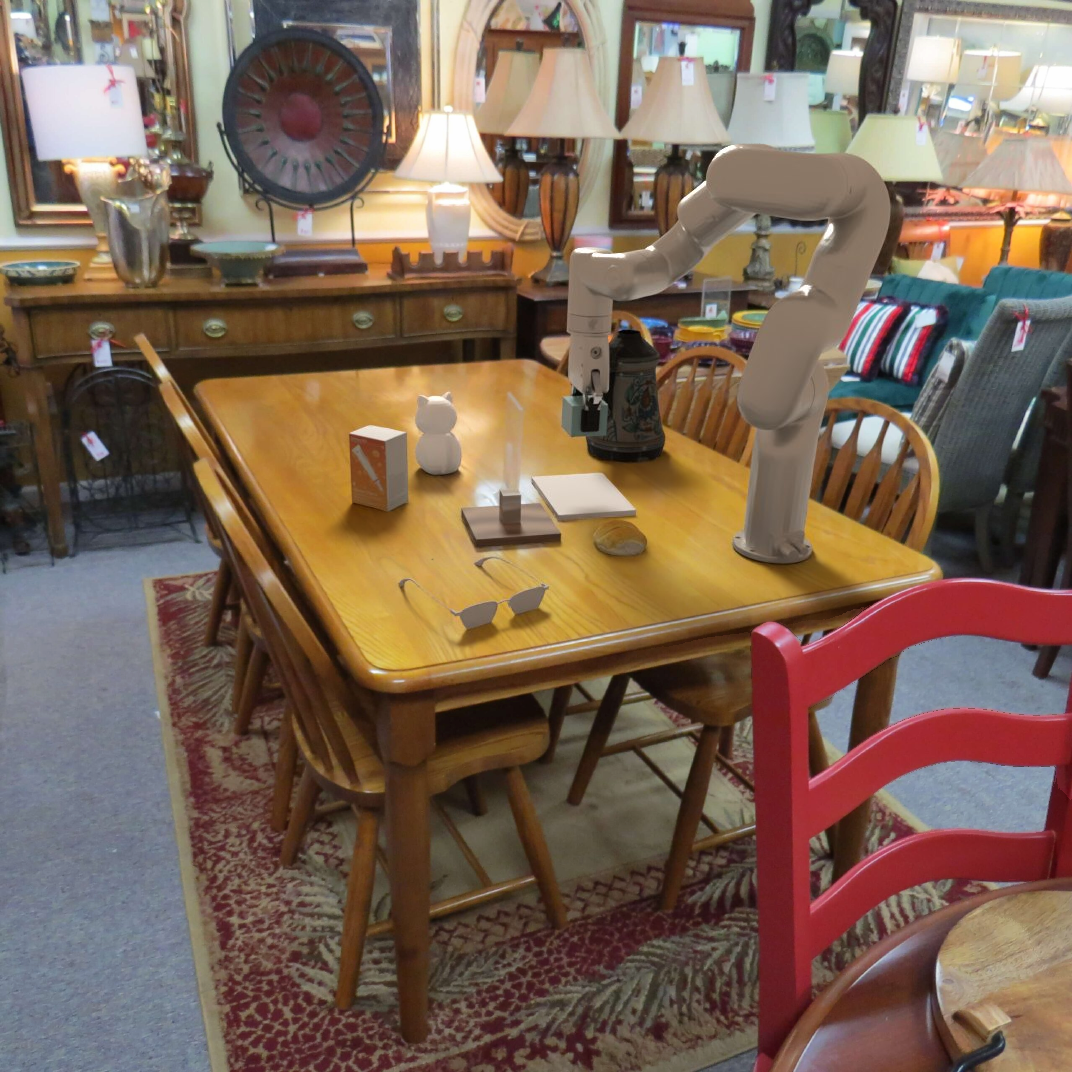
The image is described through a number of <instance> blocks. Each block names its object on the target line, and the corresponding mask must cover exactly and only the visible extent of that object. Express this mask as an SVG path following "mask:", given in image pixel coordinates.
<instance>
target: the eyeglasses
mask: <svg viewBox="0 0 1072 1072" xmlns="http://www.w3.org/2000/svg"><path fill="white" fill-rule="evenodd" d="M491 559H497V560H501V561H503V562H505V563H507V564H510V565H512V566H513V567H514V568H516V569H518V570H519V571H521V572H522V573H524V574H526V575H527V576H529V577H530V578H532V579H534V580H535V581H536V582H538V583H539V584H541V585H539V586H534V587H531V588H526V589H523V590H521V591H519V592H517V593H515V594H513V595H511V597H510V598H505V599H501V600H499V601H495V600H487V601H486V600H485V601H483V602H479V603H475V604H472V605H469V606H466V607H465V608H463V609H461V610H460V611H455V610H454V609H453V608H449V607H447V606H446V605H444V604H443V603H442V602H440V601H439V600H438V599H436V598H435V597H434V596H432V595H431V594H430V593H429V592H428V591H426V589H424V588H422V587H421V586H420V584H419V583H418V582H416V580H414V579H413V578H410V577H404V578H403V579H401V580H399V582H398V583H397V585H399V586H400V587H402V588H403V587H404V586H405V583H406V582H408V581H410V582H413V583H414V584H415V585H416V586H417V588H420V589H421V590H422V591H423V592H424V593H426V594H427V595H429V596H430V598H432V599H433V600H435V601H436V602H438V603H439V604H441V606H443V607H445V609H447V610H449V611H450V612H449V613H450V614H452V615H453V616H454V617H459V619H460V621H461V623H462V625H463V626H464V628H465V629H466V630H471V629H473V628H478V627H480V626H483V625H487V624H490V623H492V621H493V620H494V618H495V616H496V614H497V610H498V607H499V604H501V603H504V602H507V605H508V608H509V609H511V611H512V612H513V614H514V615H516V616H517V615H519V614H523V613H525V612H526V613H527V612H530V611H533V610H536V609H539V607H540V605H541V604H542V601H543V599H544V595H545V594H546V591H547V590H550V589H549V588H550V586H549V585H548V584H546V583H545V582H541V581H539V580H538V579H536V578H535V577H534V576H533V575H530V574H529V573H528V572H526V571H524V569H521V568H519V567H518V566H516V565H515V564H513V563H511V561H509V560H507V559H504V558H502V557H500V556H486V557H482V558H480V559H478V560H476V561H475V562H474V563H473V565H476V566H478V567H482V566H483V564H484V563H485V562H486V561H488V560H491Z"/></svg>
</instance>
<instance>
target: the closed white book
mask: <svg viewBox="0 0 1072 1072" xmlns="http://www.w3.org/2000/svg"><path fill="white" fill-rule="evenodd" d="M530 481H531V483H532V485H533V487H534V488H535V489H536V491H537V492H538V493H539V495H540V497H541V498H542V499H543V501H544V502H545V503H546V505H547V506H548V508H549V509H550V511H551V512H552V513H553V515H554V516H555V518H556V519H557V521H558V522H559V521H571V520H572V521H573V520H586V519H601V518H615V517H618V518H619V517H630V516H636V515H637V508H635V507H634V506H633V505H632V504H631V502H629V500H628V499H627V498H626V497H625V496H624V495H623V494H622V492H620V490H619V489H618V488H617V487H616V486H615V485H614V484H613V483H612V482H611V481H610V480H609V478H608V477H606V475H605V474H604V473H603V472H591V473H574V474H573V473H571V474H557V475H556V474H555V475H541V476H531V479H530Z"/></svg>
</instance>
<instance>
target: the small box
mask: <svg viewBox="0 0 1072 1072" xmlns="http://www.w3.org/2000/svg"><path fill="white" fill-rule="evenodd" d="M348 438H349V439H348V441H349V445H348V446H349V463H350V464H349V466H350V484H351V485H350V487H351V503H352V504H357V505H361V506H366V507H369V508H374V509H376V510H381V511H384V512H385V513H386V512H387V513H388V512H390V511H392V510H394V509H396V508H398V507H400V506H402V505H404V504H406V503H408V502H409V472H408V471H409V469H408V467H409V466H408V433H407V431H403V430H402V431H401V430H396V429H392V428H389V427H382V426H378V425H373V424H372V425H371V424H370V425H366V426H364V427H363V426H362V427H361V428H359V429H356V430H354V431H351V432H349V433H348Z"/></svg>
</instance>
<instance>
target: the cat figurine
mask: <svg viewBox="0 0 1072 1072" xmlns="http://www.w3.org/2000/svg"><path fill="white" fill-rule="evenodd" d="M453 402H454V400H453V395H452V393H451V392H450V391H447V392H446V393H444V394H443V395H442V396H439V395H432V396H428V397H427V396H425V395H423V394H418V396H417V401H416V403H417V408H416V411H415V415H414V416H415V417H414V423H415V426H416V428H417V430H419V432H421V433H422V435H421V436H420V437H419V438H418V440H417V443H416V445H415V450H414V454H415V459H416V462H417V465H418V466H419V467H420V468H421V469H422V470H423V471H424V472H426V473H428V474H430V475H432V476H433V475H434V476H438V475H440V476H441V475H448V474H454V473H455V472H457V471H458V470H459V468H460V466H461V464H462V463H461V462H462V460H463V459H462V457H463V456H462V455H463V454H462V447H461V443H460V440H459V439H458V437H457V435H455V434H454V433H453V432H452V430H453V429H454V428H455V426H456V424H457V422H458V421H457V420H458V414H457V410H456V408H455V406H454V405H453Z"/></svg>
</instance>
